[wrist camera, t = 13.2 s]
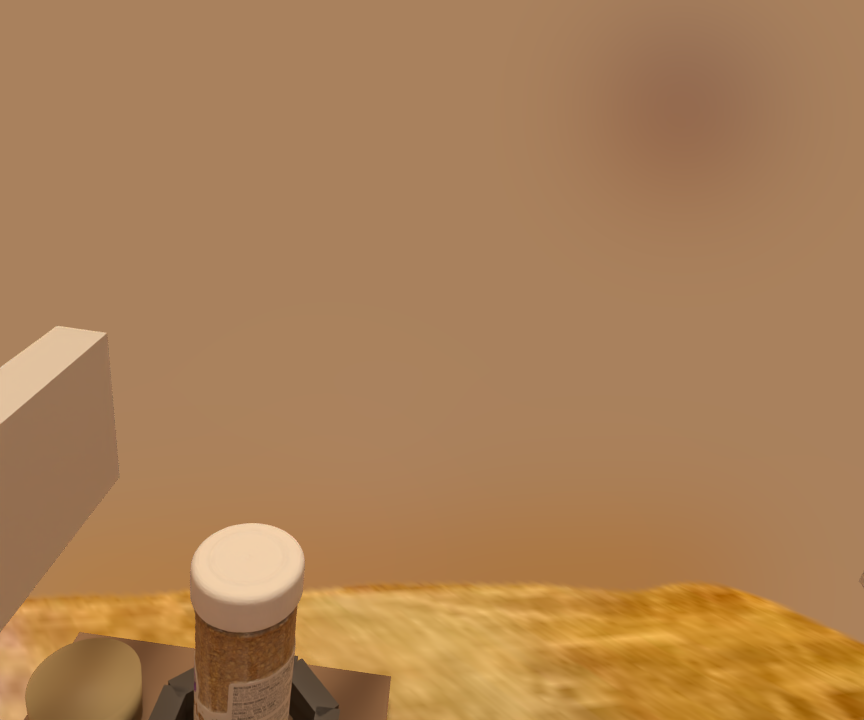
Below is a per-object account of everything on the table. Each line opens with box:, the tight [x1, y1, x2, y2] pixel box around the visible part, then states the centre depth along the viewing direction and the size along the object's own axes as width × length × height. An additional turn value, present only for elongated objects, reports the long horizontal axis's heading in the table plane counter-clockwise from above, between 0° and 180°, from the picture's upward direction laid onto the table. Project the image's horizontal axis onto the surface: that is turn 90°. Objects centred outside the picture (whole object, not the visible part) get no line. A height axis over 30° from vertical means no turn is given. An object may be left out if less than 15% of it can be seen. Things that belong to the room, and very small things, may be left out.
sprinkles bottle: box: [190, 523, 305, 720], centre depth 30 cm, size 5×5×14 cm
